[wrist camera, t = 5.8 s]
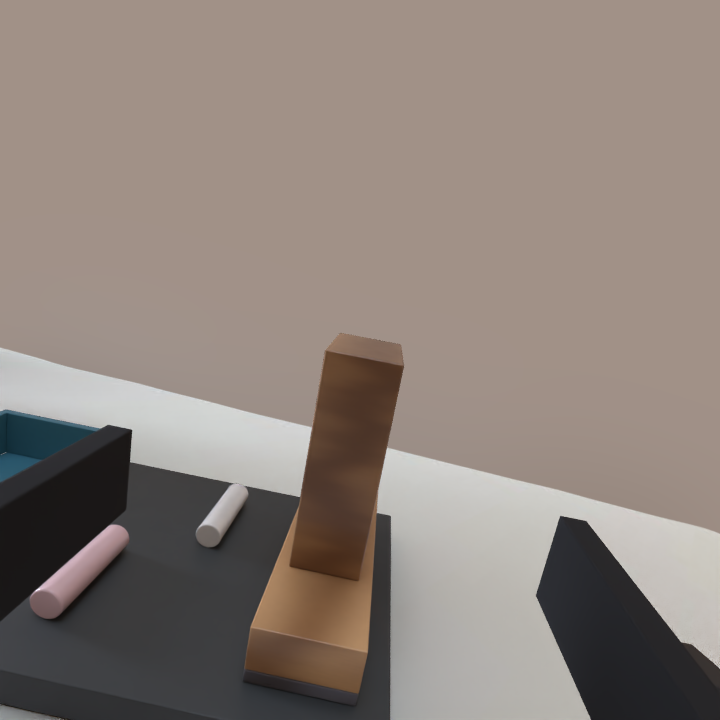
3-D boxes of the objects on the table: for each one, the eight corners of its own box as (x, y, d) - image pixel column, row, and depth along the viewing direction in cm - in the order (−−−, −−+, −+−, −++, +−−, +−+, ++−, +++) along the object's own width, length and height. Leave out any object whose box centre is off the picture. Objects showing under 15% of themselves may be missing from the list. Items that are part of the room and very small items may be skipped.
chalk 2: (193, 544, 23) (197, 521, 23) (225, 500, 28) (229, 480, 27) (218, 551, 23) (222, 528, 23) (246, 505, 28) (250, 485, 27)
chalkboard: (-159, 668, 16) (-163, 634, 15) (107, 477, 30) (108, 457, 30) (381, 790, 15) (390, 757, 15) (386, 534, 30) (390, 515, 29)
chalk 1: (31, 619, 17) (25, 589, 17) (105, 548, 22) (101, 523, 22) (64, 621, 17) (59, 590, 17) (131, 549, 22) (128, 524, 22)
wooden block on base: (241, 682, 16) (289, 365, 14) (304, 511, 28) (336, 322, 25) (355, 707, 16) (426, 391, 14) (370, 524, 28) (410, 336, 25)
